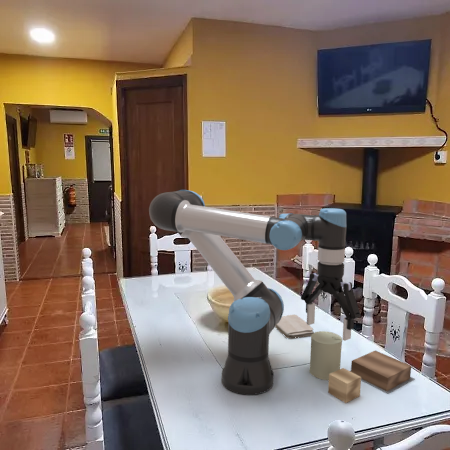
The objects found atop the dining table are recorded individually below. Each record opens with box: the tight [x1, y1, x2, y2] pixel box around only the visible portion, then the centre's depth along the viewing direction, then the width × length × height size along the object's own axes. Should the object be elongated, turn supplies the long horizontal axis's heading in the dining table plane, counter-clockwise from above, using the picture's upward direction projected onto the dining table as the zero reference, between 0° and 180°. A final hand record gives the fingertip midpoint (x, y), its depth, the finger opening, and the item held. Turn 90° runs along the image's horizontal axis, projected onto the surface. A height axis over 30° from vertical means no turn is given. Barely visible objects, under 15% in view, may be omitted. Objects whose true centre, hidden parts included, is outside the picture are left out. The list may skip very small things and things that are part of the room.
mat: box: [349, 370, 415, 395], centre depth 122 cm, size 14×14×1 cm
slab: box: [350, 350, 412, 391], centre depth 121 cm, size 12×12×4 cm
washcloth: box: [274, 314, 315, 339], centre depth 156 cm, size 12×18×3 cm, turn 19°
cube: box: [327, 367, 362, 404], centre depth 111 cm, size 6×6×6 cm
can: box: [308, 330, 343, 381], centre depth 122 cm, size 9×9×12 cm
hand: (327, 331), depth 121 cm, fingers open, 13 cm apart
